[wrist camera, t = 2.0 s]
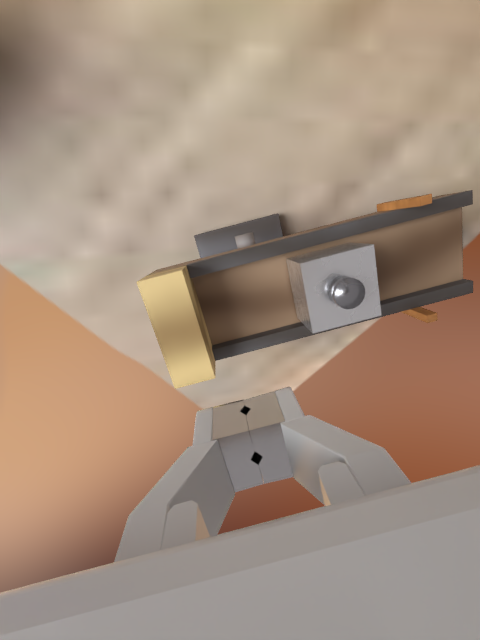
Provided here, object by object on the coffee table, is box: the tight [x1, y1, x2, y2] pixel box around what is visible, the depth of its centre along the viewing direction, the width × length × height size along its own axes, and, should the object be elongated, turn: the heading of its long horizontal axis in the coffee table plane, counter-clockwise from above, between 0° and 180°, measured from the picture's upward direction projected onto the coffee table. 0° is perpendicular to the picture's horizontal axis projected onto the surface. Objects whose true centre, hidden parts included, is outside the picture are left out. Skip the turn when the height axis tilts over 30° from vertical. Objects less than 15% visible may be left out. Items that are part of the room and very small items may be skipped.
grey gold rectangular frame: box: [137, 190, 473, 389], centre depth 27 cm, size 12×25×14 cm, turn 104°
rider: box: [286, 242, 381, 333], centre depth 21 cm, size 5×5×5 cm
